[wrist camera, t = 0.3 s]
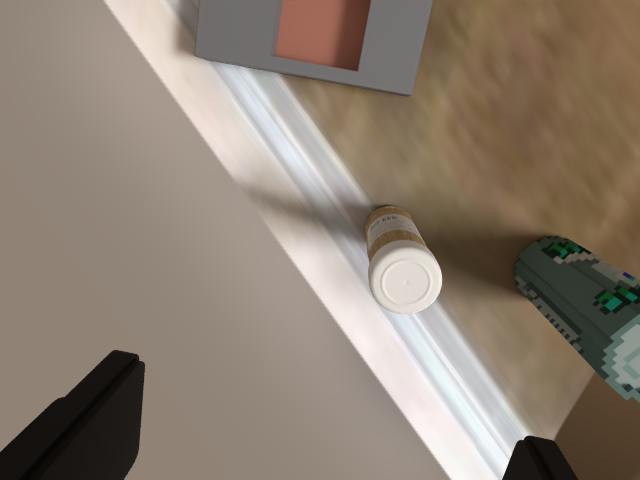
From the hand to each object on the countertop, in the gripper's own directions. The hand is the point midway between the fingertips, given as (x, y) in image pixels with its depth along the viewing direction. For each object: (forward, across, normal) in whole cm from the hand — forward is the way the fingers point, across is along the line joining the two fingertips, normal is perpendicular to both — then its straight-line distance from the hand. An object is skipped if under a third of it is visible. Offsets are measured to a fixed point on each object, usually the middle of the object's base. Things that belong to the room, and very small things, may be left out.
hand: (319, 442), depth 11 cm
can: (+30, -19, +2) cm, 36 cm away
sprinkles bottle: (+30, -4, +2) cm, 31 cm away
